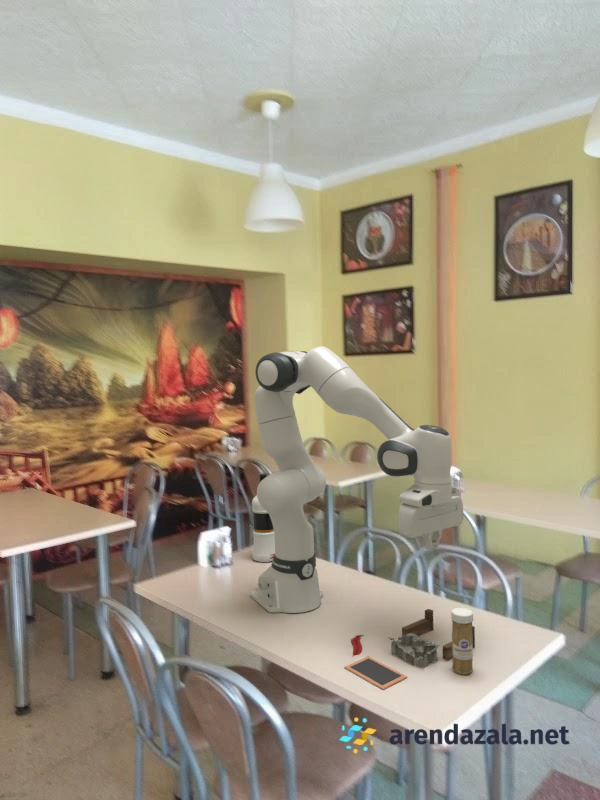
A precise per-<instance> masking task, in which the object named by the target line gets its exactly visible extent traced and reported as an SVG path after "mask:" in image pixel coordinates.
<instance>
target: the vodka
mask: <svg viewBox="0 0 600 800" xmlns="http://www.w3.org/2000/svg"><path fill="white" fill-rule="evenodd" d="M267 476H268V475H267V474H266V473H260V474H259V483H260V482H261V481H262V480H263V479H264V478H266V477H267ZM251 507H252V509H251V510H252V526H253V529H252V534H253V547H252V554H251V557H252V559H253V560H254V561H255V562H257V561H258V563H272V562H271V561H273V558H271V559H270V557H272V556H274V555H272V554H275V539H274V528H273V524H272V520H271V518H270V515H269V513H268V512H267V511H266V510H265V509H264V508H263V507H262V506H261V505H260V503H259V501H258V498H257V494H256V495H255V496H254V497H253V498H252V500H251ZM270 555H272V556H270Z"/></svg>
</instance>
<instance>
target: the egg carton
mask: <svg viewBox="0 0 600 800" xmlns="http://www.w3.org/2000/svg"><path fill="white" fill-rule="evenodd" d="M388 640H390V641H391V644H390V645H391V648H390V649H391V655H392V656H394V657H396V656H400V657H402V661H406V662H412V663H413V665H414V666H415V667H419V668H420V667H424V668H426V667H428V665H429V663H428V662H432V663H433V662H434V663H436V662H437V661H438V649H439V647H440V645H441V644H435V643H433V642H432V641H431V642H430V641H429V639H424V638H423V637H421V636H417V635H416V634H414V633H410V634H406V635H403V636H402V635H401V636H398V638H397V640H396V639H395V638H394V637H391V636H388ZM409 646H411V647H412V650H405V647H409Z"/></svg>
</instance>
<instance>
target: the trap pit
mask: <svg viewBox="0 0 600 800" xmlns="http://www.w3.org/2000/svg"><path fill="white" fill-rule="evenodd" d="M344 669H345V670H347V671H349V672H350V673H352V674H354V675H356V676H358V677H359V678H361V679H363V680H365V681H366V682H367V683H370V684H372V685H373V686H375V687H377V688H379V689H380V690H382V691H384V690H386V689H388V688H390V687H392V686H394V685H396V684H399V683H400V682H402V681H405V680H406V679H407V678H408V675H405V674H403V673H401V672H400V671H398V670H396V669H394V668H392V667H390V666H388V665H387V664H385V663H382V662H381V661H378V660H377V659H376V658H373V657H372V656H369V655H368V656H366V657H364V658H361V659H358V660H357V661H354V662H352V663H349V664H347V665H346V666H344Z"/></svg>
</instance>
